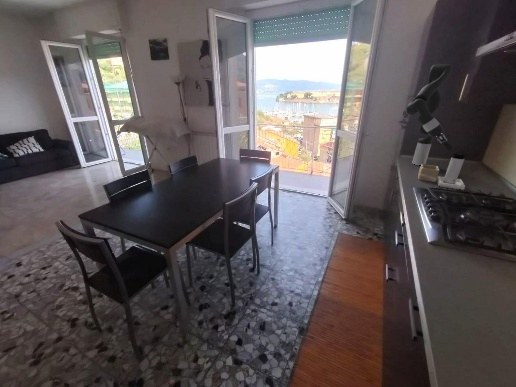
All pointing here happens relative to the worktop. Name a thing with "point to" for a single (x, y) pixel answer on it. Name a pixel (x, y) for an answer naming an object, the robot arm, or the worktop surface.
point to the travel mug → (454, 168)
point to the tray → (457, 185)
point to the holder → (428, 173)
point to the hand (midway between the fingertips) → (449, 147)
